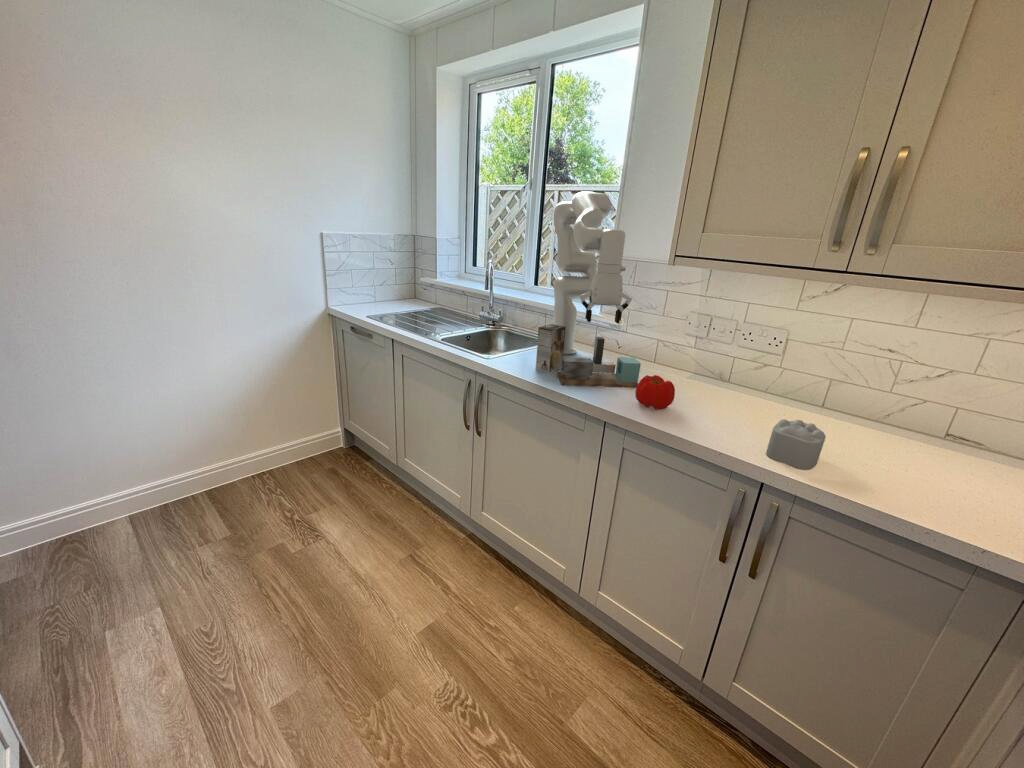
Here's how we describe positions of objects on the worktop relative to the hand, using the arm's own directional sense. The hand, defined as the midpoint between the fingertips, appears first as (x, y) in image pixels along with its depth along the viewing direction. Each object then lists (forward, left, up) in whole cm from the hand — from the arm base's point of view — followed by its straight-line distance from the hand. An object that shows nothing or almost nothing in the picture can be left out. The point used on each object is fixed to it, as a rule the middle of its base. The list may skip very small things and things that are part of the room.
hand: (602, 322), depth 149 cm
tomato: (+22, +13, -21) cm, 33 cm away
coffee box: (-12, -15, -21) cm, 29 cm away
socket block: (0, +11, -21) cm, 24 cm away
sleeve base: (0, +1, -21) cm, 21 cm away
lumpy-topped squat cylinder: (+52, +38, -21) cm, 68 cm away
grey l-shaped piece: (0, -2, -18) cm, 18 cm away
